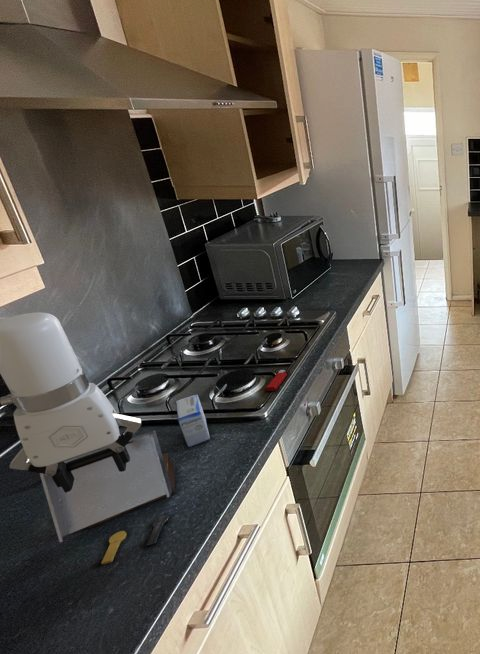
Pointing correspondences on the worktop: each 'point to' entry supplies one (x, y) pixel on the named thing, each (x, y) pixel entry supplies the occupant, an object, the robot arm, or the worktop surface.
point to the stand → (171, 476)
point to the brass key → (113, 546)
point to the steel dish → (107, 485)
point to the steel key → (157, 529)
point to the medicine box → (192, 420)
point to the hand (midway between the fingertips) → (97, 475)
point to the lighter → (277, 380)
